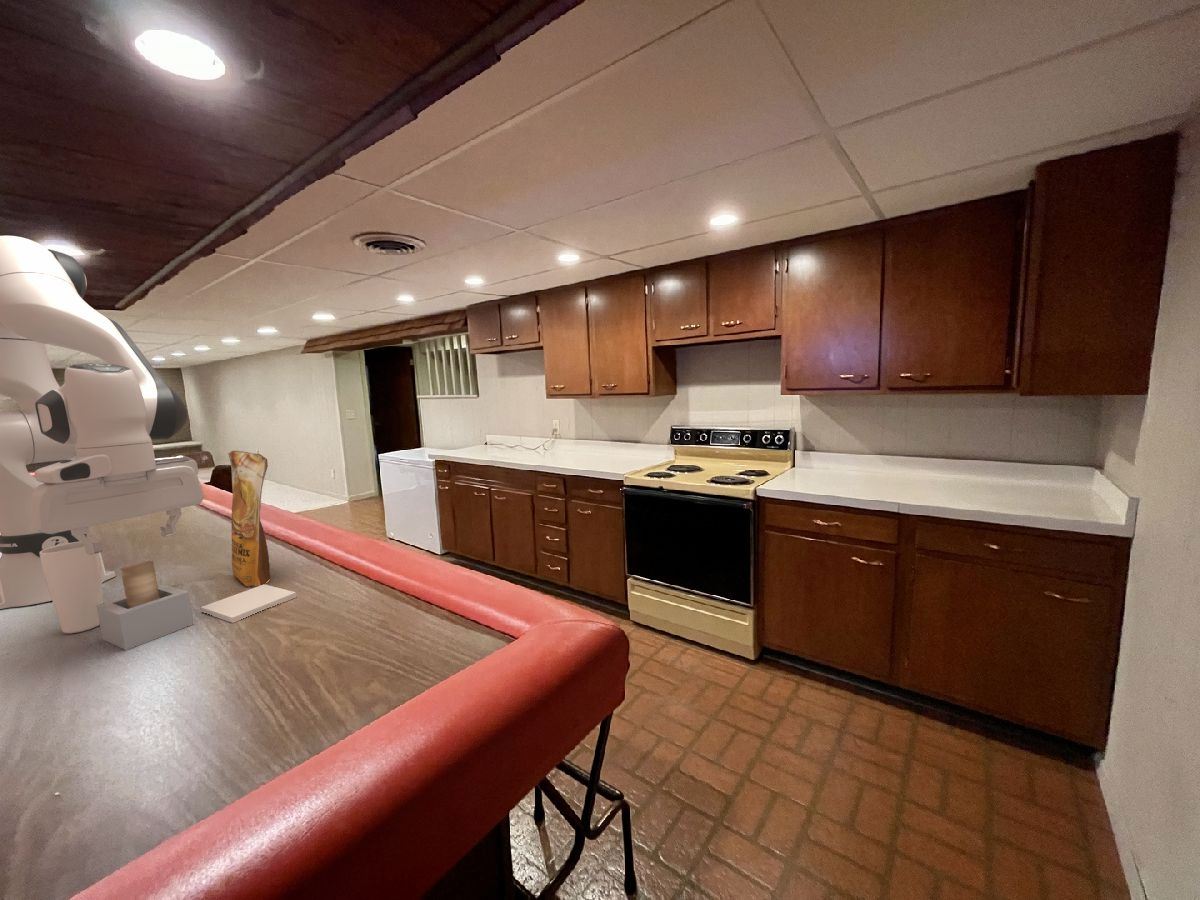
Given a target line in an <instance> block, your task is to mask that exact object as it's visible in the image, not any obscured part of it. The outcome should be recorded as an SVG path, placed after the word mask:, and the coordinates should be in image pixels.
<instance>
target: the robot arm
mask: <svg viewBox="0 0 1200 900" xmlns="http://www.w3.org/2000/svg"><path fill="white" fill-rule="evenodd" d="M87 281H88V280H87V277H86V274H85V272H84V269H83V267H82V265H81V264H80V262H78V260H77V259H76V258H74V257H73V256H71V255H69V254H66V253H64V252H60V251H58V250H53V249H50V248H49V249H48V248H47V247H45V246H43V245H41V244H40V243H38V242H36V241H34V240H32V239H29V238H25V237H22V236H17V235H0V395H1V396H5V397H9V398H11V399H12V400H14V401H15V402H16V403H17V404H18V405H19V408H20V410H16V411H15V410H13V411H11V410H10V411H0V553H1V555H0V610H3V609H7V608H17V607H25V606H31V605H35V604H36V605H38V604H43V603H47V602H51V601H52V598H51V596H50V593H49V590H48V587H47V584H46V582H45V579H44V576H43V572H42V567H41V562H40V554H39V552H40V551H42V550H44V549H47V548H50V547H53V546H57V545H62V544H67V543H72V542H79V541H80V542H82V543H83V544H84V545H85V550H86V553H87V554H88V555H92V554H96V553H99V557H100V564H101V577H102V584H103V583H105V582H106V581H108V580H110V579H113V578H115V577H116V572H115V571H113V570H112V571H111V570H106V568H105V565H104V560H103V557H102V554H101V553H103V552H104V548H103V547H102V546H103V543H102V541H100V540H92V539H91V538H90V537H88V535H89V534H90V531H89V527H92V526H98V525H102V524H107V523H112V522H117V521H122V520H127V519H132V518H137V517H141V516H142V517H143V516H147V515H151V514H158V513H162V512H165V514H166V516H169V517H168V520H167V522H166V525H165V524H164V525H161V526H160V531H161V536H162V537H163V538H167V537H171V536H175V535H177V533H178V532H177V528H176V526H177V525H178V522H179V520H180V518H181V516H182V509H183V508H187V507H193V506H197V505H200V504H201V503H202V502H203V500H204V498H205V496H204V495H205V494H204V491H203V487H202V484H201V482H200V479H199V477H198V474H199V467H198V462H197V461H196V460H195V459H194V458H192V457H189V456H186V455H176V456H167V457H166V456H165V457H155V451H154V445H153V440H155V441H156V440H170V439H171V438H173V436H175V435H176V434H178V433H179V432H180V431H181V430H182V429H183V427H185V425H186V424H187V422H188V421H187V420H188V413H187V412H188V411H187V408H186V405H185V403H184V401H183V399H182V398H181V396H179V394H177V393H176V391H175V390H173V388H171V387H170V386H169V385H168V384H167V382H165V381H164V379H162V377H161V376H160V374H159V373H158V372H157V371H156V369H155V368H154V367H153V365H152V364H151V363H150V362H149V360H148V359H147V358H146V356H145V355H144V353H143V352H142V351H141V350H140V348H139V347H138V346H137V345H136V343H135V342H134V341H133V339H132V338H131V336H129V334H128V333H127V332H126V331H125V329H124V328H123V327H122V326H121V325H120V324H119V323H118V322H116V321H115V320H113V319H111V318H109V317H107V316H105V315H103V314H102V313H100V312H99V311H97V310H96V309H94V308H93V307H92V306H90V305H89V304H88V303H87V302H86V301H85V300H84V299H83V298H84V297H85V295H86V290H87V285H88V284H87ZM46 345H50V346H54V347H55V346H56V347H60V348H65V349H69V350H73V351H78V352H81V353H85V354H87V355H91V356H93V357H96V358H98V359H101V360H103V361H104V362H106V363H77V364H76V363H75V364H72V365H68V366H67V367H66V368H65V370H64V382H63V384H62V385H60V384H59V382H58V381H57V380H56V377H55V375H54V372H53V369H52V366H51V363H50V360H49V356H48V350H47V348H46ZM107 363H108V364H107ZM56 461H57V462H56ZM58 461H59V462H58ZM48 462H49V463H50V462H56V463H52V464H50V465H49V464H48V465H46V466H43V467H40V468H38V469H36V470H35V471H34V476H33V475H32V474H31V473H30V472H29V470H28V468H27V465H31V464H38V463H48ZM52 602H53V601H52Z"/></svg>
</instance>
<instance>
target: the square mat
mask: <svg viewBox="0 0 1200 900" xmlns="http://www.w3.org/2000/svg"><path fill="white" fill-rule="evenodd" d="M296 598H297V592H295V591H293V590H292V591H291V590H288V589H284V588H281V587H276V586H273V585H269V584H264V585H261V586H254V587H252V588H250V589H247V590H244V591H242V592H239V593H237V594H233V595H230V596H228V597H225V598H223V599H220V600H217V601H215V602H214V601H213V602H211V603H209V604H206V605H203V606H200V612H201V613H202V612H204V613H203V614H205V613H207V614H206V615H208V614H210V615H209V616H211V615H212V616H211V617H214V618H217V619H220V620H223V621H226V622H228V623H229V622H230V623H231V624H232V623H233V624H234V623H237V622H239V621H241V619H242V620H244V619H247V618H249V617H251V616H250V615H252V614H254V615H256V614H255V613H257V612H259V611H261V612H263V611H262V610H264V609H266V608H269V607H271V608H273V607H272V606H274V607H276V606H278V605H277V604H279V605H281V604H284V603H286V602H289V601H291V600H293V599H296ZM283 602H284V603H283ZM280 603H281V604H280ZM275 605H276V606H275ZM269 609H270V608H269ZM266 610H267V609H266ZM264 611H265V610H264ZM259 613H260V612H259ZM257 614H258V613H257ZM248 616H249V617H248ZM252 616H253V615H252ZM246 617H247V618H246ZM243 618H244V619H243Z"/></svg>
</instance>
